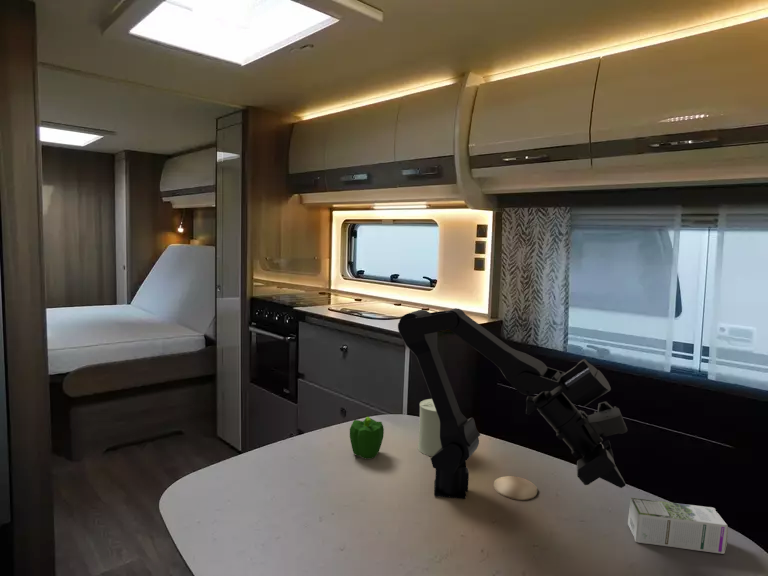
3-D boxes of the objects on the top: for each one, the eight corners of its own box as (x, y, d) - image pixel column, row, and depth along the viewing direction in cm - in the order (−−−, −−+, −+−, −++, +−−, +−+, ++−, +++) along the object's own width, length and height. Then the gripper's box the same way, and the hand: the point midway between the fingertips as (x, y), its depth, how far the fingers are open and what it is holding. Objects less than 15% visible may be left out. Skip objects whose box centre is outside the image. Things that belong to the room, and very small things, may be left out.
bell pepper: (352, 445, 127) (353, 407, 126) (384, 448, 126) (386, 410, 125) (345, 460, 119) (346, 420, 117) (379, 463, 118) (381, 422, 116)
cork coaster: (496, 498, 104) (496, 495, 104) (491, 476, 113) (491, 474, 113) (540, 501, 103) (541, 499, 103) (532, 480, 112) (533, 477, 112)
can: (414, 441, 130) (416, 396, 129) (449, 440, 131) (451, 396, 130) (421, 457, 121) (423, 409, 120) (458, 456, 122) (460, 409, 121)
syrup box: (635, 543, 90) (725, 556, 87) (638, 513, 89) (730, 525, 86) (626, 524, 95) (711, 536, 92) (630, 495, 94) (715, 506, 92)
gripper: (606, 410, 83) (673, 487, 81) (596, 379, 100) (651, 441, 98) (551, 447, 86) (615, 522, 84) (551, 410, 104) (604, 471, 102)
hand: (623, 485), depth 92 cm, fingers closed
